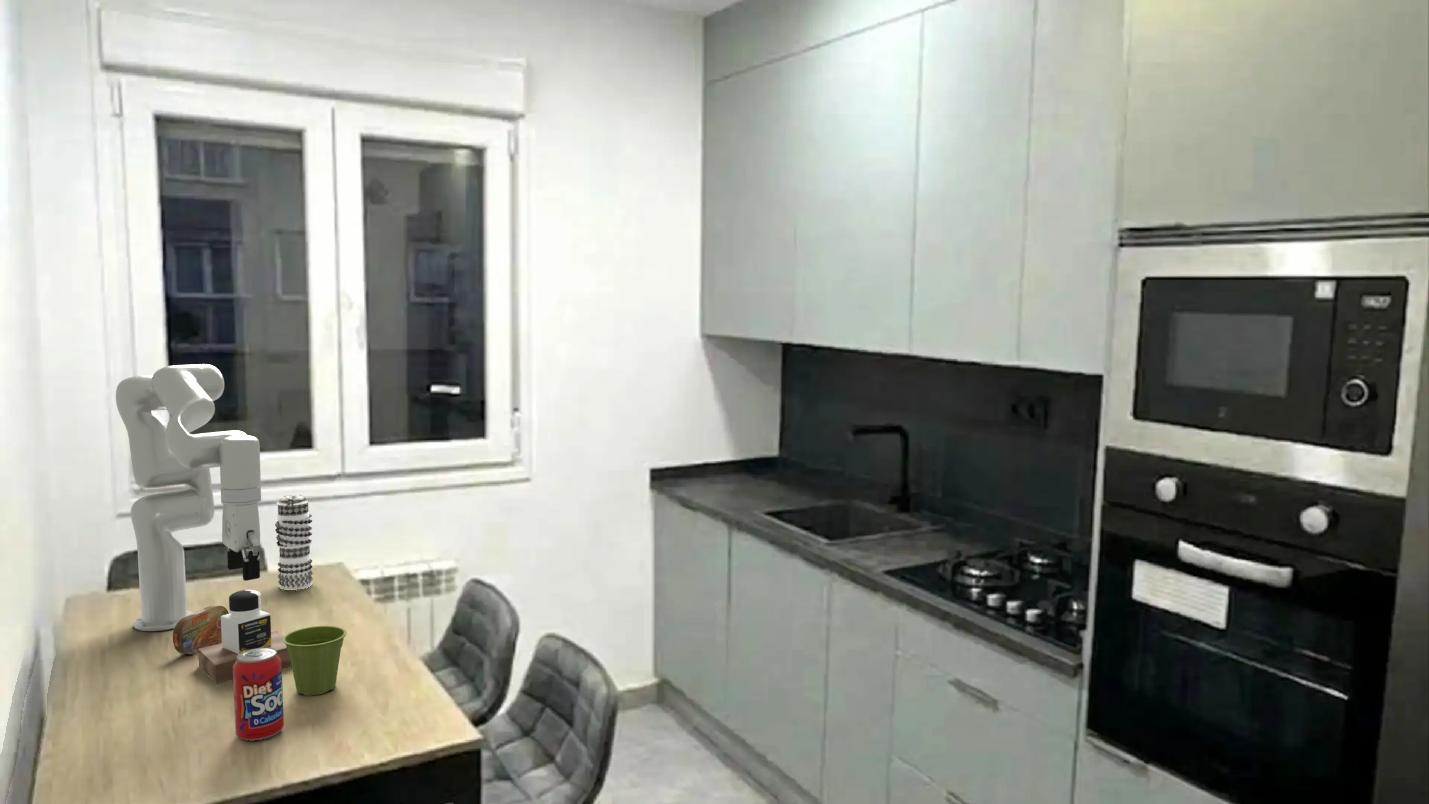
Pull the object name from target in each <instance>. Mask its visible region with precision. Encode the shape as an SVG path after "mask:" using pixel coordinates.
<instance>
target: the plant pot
mask: <svg viewBox="0 0 1429 804" xmlns="http://www.w3.org/2000/svg"><path fill="white" fill-rule="evenodd" d="M347 634H348V633H347V630H346V629H345V628H343V627H340V626H335V625H314V626H306V627H303V628H299V629H296V630H292V631H290V632H288V633H287V634H285V635H283V636H284V637H283V639H282V640H283V642H284V643H285V644H286V647H287V651H288V653H289V656H290V661H291V665H290V666H291V669H292V674H293V679H294V685H295V690H296V692H297V693H298V694H303V695H304V696H310V697H311V696H317V695H318V696H319V695H323V694H325V693H327V692H328V691H330V690H331V691H332V690H334V689H335V688H336V683H337V677H338V670H339V664H340V663H339V662H340V657H341V652H342V651H341V650H342V647H343V643H344V639H345V637H346V636H347Z"/></svg>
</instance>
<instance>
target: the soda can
mask: <svg viewBox="0 0 1429 804" xmlns="http://www.w3.org/2000/svg"><path fill="white" fill-rule="evenodd" d="M232 681H233V684H232V685H233V705H234V722H235V723H234V724H235V725H234V726H235V735H236V736H237V737H238V738H239V739H241V740H244V741H248V740H249V741H250V742H256V741H255V740H259V741H264V740H267V739H269V737H270V738H272V737H274V736H275V735H277V734H278V733H280V732H281V731H282V730H283V729H284V726H285V719H284V718H285V717H284V716H285V714H284V712H285V711H284V691H283V689H284V688H283V667H282V661H281V658H280V657H279V656H278V655H277V651H276V650H275V649H273V648H256V649H251V650H247V651H244V652H242V653H240V654H239V655H238V656H237V660H236V662H235V664H234V665H233V680H232ZM263 739H264V740H263Z"/></svg>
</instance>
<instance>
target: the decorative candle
mask: <svg viewBox="0 0 1429 804" xmlns="http://www.w3.org/2000/svg"><path fill="white" fill-rule="evenodd" d="M309 502H310V501H309V500H308V499H306V497H305V496H304V495H301V494H289V495H285V496H284V495H283V496H282V497H280V498H279V501H277V502H276V505H277V520H278V521H276V522H275V524H274V526H275V527H276V529H275V533H276V534H277V535H276V537H275V538H276V540H277V542H276V546H277V548H279V556H278V563H277V566H278V567H279V568H278V569H277V571H278V572H279V574H278V575H277V577H278V578H277V579H278V581H277V583H278V584H279V586H280V585H281V586H280V588H283V589H286V588H287V589H289V590H291V589H293V590H294V589H296V591H298V590H297V589H302V588H306V589H309V588H311V587H312V586H313V585H312V584H313V582H312V581H313V580H314V579H313V575H314V573H313V570H311V569H313V566H312V563H313V560H312V559H311V556H312V555H311V550H310V548H311V547H310V546H311V544H312V539H310V537H311V536H312V535H313V533H312V532H311V530H312V529H313V528H312V526H310V524H311V523H312V522H313V520H312V519H311V518H312V514H311V513H310V511H309ZM311 585H312V586H311ZM310 586H311V587H310ZM308 587H309V588H308Z"/></svg>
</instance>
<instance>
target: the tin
mask: <svg viewBox="0 0 1429 804" xmlns="http://www.w3.org/2000/svg"><path fill="white" fill-rule="evenodd" d="M228 610H229V609H227V608H226V606H225V607H224V606H223V605H212V606H211V605H209V606H206V607H204V608H202V609H200V610H197V611H195V612H193V614H191V615H189V616H186V617H184V618H182V619H181V620H180V621H179V622H178V623H177V624H176V626H175V628H173V631H172V643H173V648H174V649H175V650H176V652H178V653H180V654H183V655H192V656H193V655H198V649H199V648H204V647H208V646H213V645H217V644H219V643H221V642H222V634H221V616H223V615H226V614H230V612H229V611H228Z"/></svg>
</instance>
